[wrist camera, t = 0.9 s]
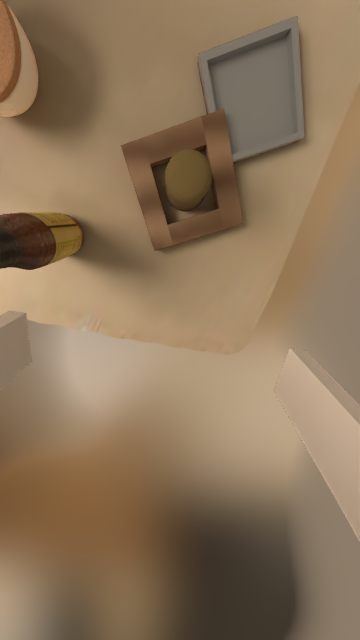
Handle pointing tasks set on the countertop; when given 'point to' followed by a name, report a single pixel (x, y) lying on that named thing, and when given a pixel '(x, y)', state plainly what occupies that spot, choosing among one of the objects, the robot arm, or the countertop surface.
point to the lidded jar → (15, 66)
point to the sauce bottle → (37, 239)
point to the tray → (257, 88)
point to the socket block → (161, 149)
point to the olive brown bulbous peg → (187, 179)
